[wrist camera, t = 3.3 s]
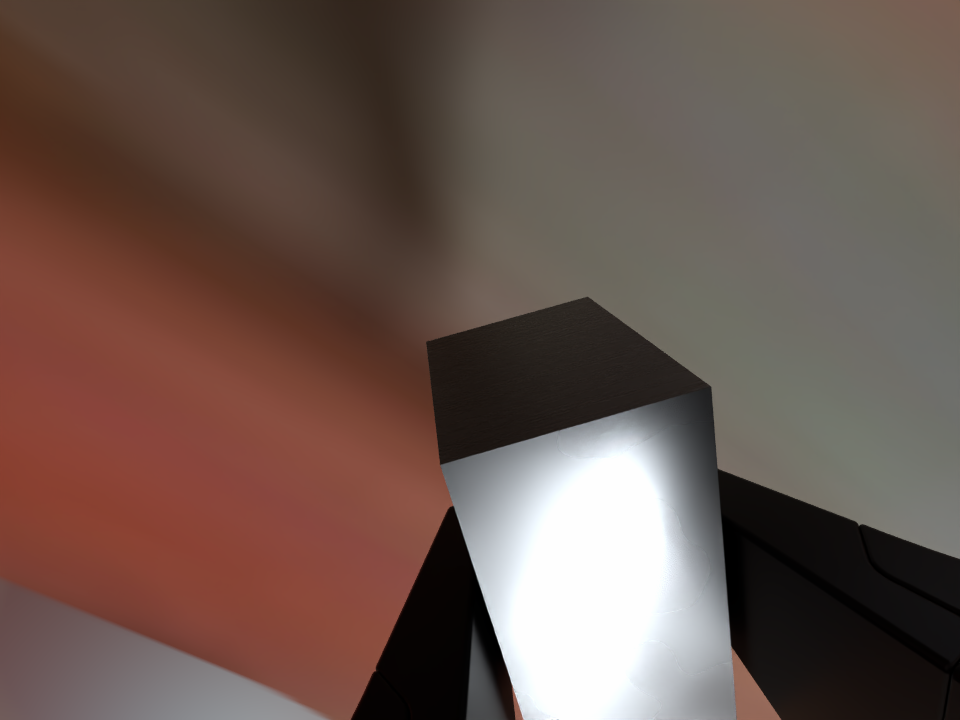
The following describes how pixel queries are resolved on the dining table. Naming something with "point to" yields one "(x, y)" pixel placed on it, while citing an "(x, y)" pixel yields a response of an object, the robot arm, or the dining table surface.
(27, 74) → the dining table surface
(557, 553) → the silver metal block
